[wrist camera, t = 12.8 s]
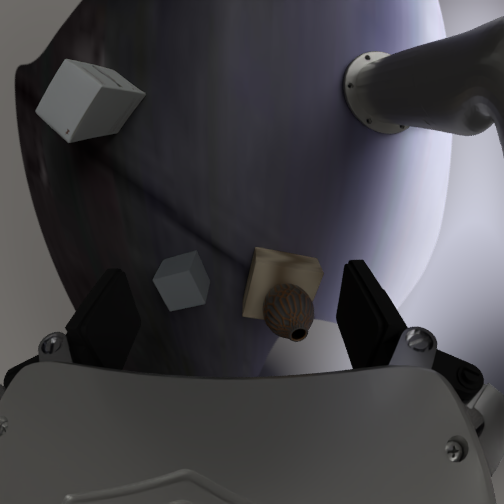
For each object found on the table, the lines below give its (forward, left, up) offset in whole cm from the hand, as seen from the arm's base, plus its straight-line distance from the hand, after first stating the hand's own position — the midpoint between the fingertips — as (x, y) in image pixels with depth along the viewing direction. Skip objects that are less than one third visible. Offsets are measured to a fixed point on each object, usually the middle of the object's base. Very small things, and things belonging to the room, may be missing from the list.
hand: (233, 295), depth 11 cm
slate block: (+10, +16, -28) cm, 34 cm away
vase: (-5, +18, -23) cm, 30 cm away
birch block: (-5, +18, -29) cm, 34 cm away
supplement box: (+18, -12, -28) cm, 36 cm away
